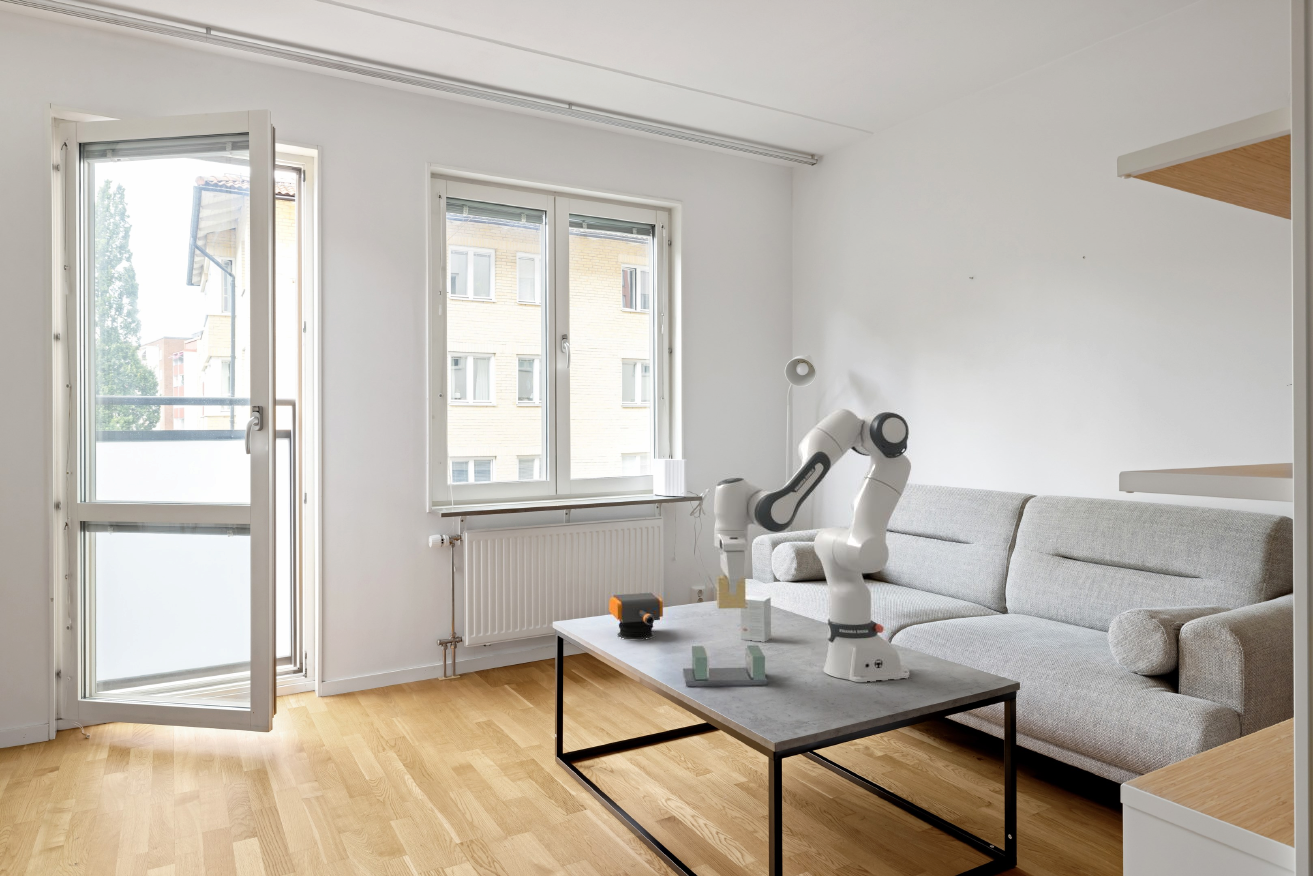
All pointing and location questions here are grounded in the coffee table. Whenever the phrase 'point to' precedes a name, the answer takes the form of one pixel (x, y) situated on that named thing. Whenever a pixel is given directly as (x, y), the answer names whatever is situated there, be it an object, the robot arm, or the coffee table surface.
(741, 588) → the brass block
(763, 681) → the vise
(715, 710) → the coffee table surface
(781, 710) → the coffee table surface
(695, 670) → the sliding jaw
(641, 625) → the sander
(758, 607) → the small box
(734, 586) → the robot arm
